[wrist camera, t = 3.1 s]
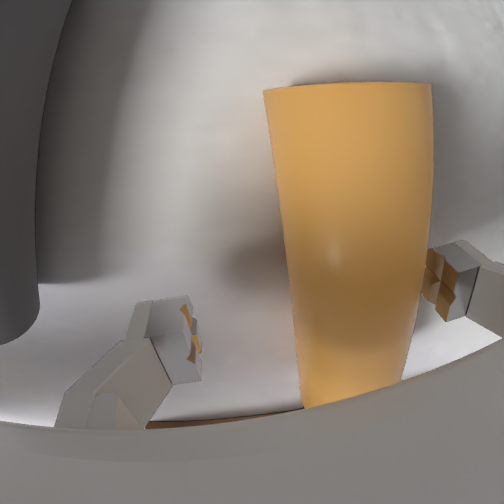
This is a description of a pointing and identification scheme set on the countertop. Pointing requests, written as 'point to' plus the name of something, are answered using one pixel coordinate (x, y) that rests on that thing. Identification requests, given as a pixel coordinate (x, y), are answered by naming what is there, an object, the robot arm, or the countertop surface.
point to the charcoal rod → (22, 149)
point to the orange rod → (353, 226)
